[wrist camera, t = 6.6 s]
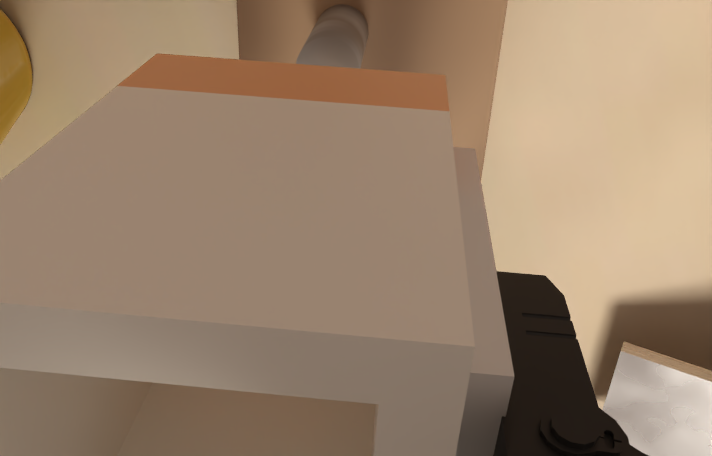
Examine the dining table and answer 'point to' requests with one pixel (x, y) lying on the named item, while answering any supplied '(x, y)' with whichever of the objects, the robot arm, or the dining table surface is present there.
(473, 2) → the pin board
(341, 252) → the sleeve
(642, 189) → the dining table surface
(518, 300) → the robot arm
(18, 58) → the plant pot
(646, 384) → the chute
